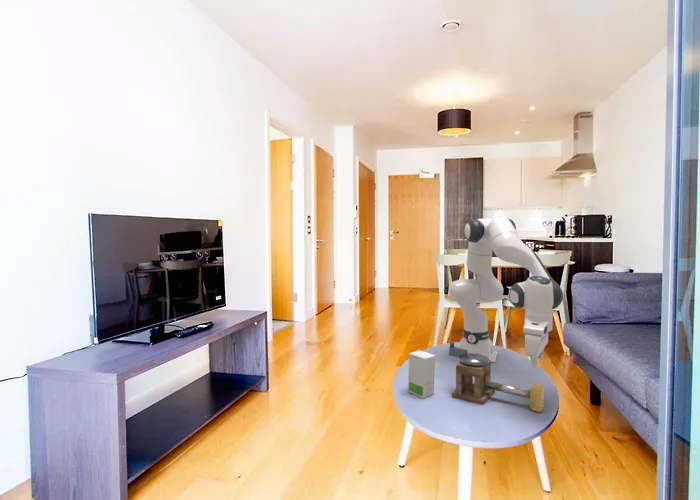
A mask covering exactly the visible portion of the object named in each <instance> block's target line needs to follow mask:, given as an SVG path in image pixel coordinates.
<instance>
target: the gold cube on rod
mask: <svg viewBox="0 0 700 500" xmlns="http://www.w3.org/2000/svg"><path fill="white" fill-rule="evenodd" d="M485 384H486V385H487V389H491V390H495V391H497V392H501V393H505V394H509V395H514V396H519V397H524V398H528V399H529V410H530V411H534V412H537V413H542V412H543V410H544V407H545V406H544V405H545V404H544V403H545V397H544V396H545V385H543V384H539V383H532V384H531V385H530V387H529V388H530V389H528V388H524V387H520V386H515V385H508V384H505V383H504V384H503V383H500V382H499V383H498V382H494V381H492V375H491V376H488V375H486V376H485Z"/></svg>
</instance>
